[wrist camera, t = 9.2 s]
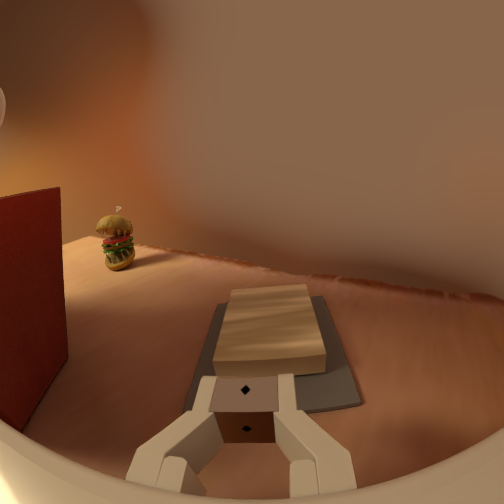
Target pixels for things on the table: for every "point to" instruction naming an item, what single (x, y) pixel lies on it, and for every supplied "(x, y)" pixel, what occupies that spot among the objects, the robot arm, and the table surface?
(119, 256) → the hamburger
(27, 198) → the plant pot
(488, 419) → the table surface
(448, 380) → the table surface
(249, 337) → the picture frame
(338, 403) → the mat
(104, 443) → the table surface
